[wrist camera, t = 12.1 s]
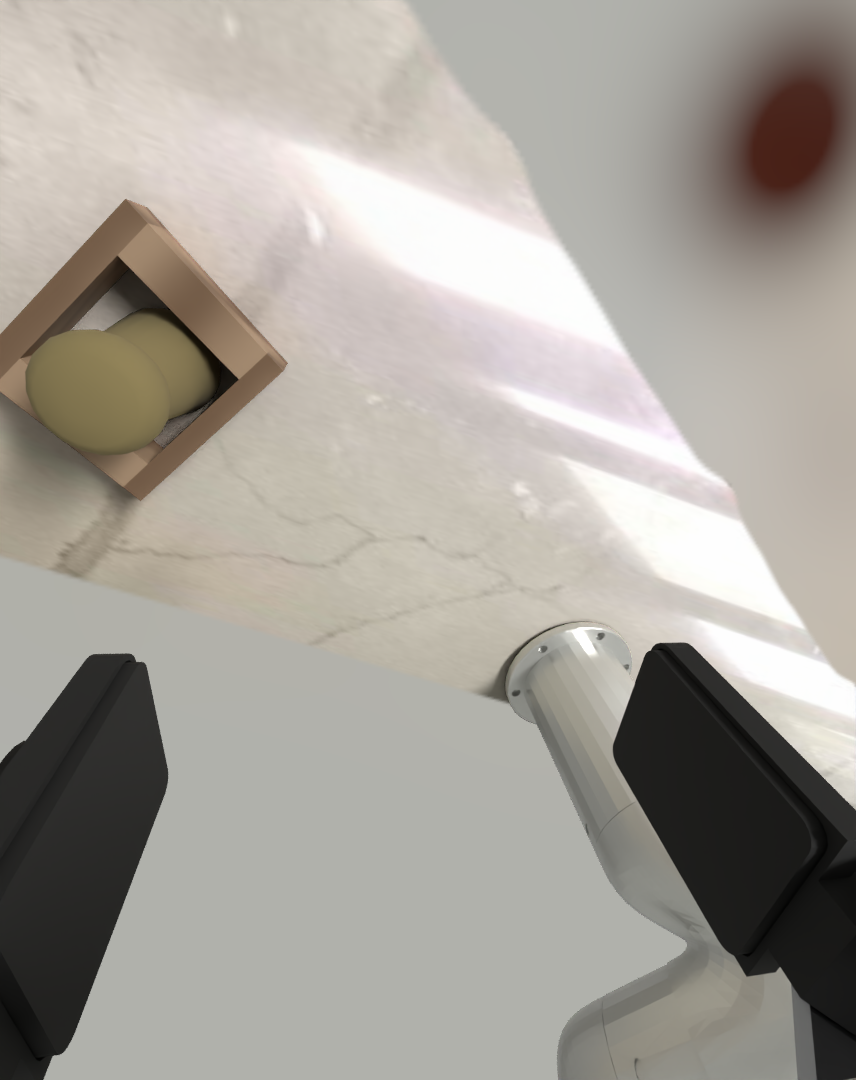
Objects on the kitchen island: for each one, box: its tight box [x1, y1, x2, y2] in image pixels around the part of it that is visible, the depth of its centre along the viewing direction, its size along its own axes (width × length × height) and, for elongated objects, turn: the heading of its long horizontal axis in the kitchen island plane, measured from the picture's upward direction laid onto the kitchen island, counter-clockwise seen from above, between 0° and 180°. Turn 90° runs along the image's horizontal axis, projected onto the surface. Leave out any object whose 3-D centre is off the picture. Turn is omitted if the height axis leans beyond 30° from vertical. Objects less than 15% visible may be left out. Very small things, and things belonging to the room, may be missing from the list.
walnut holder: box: [0, 199, 288, 501], centre depth 27 cm, size 10×12×3 cm
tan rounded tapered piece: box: [25, 308, 221, 455], centre depth 24 cm, size 6×6×11 cm
